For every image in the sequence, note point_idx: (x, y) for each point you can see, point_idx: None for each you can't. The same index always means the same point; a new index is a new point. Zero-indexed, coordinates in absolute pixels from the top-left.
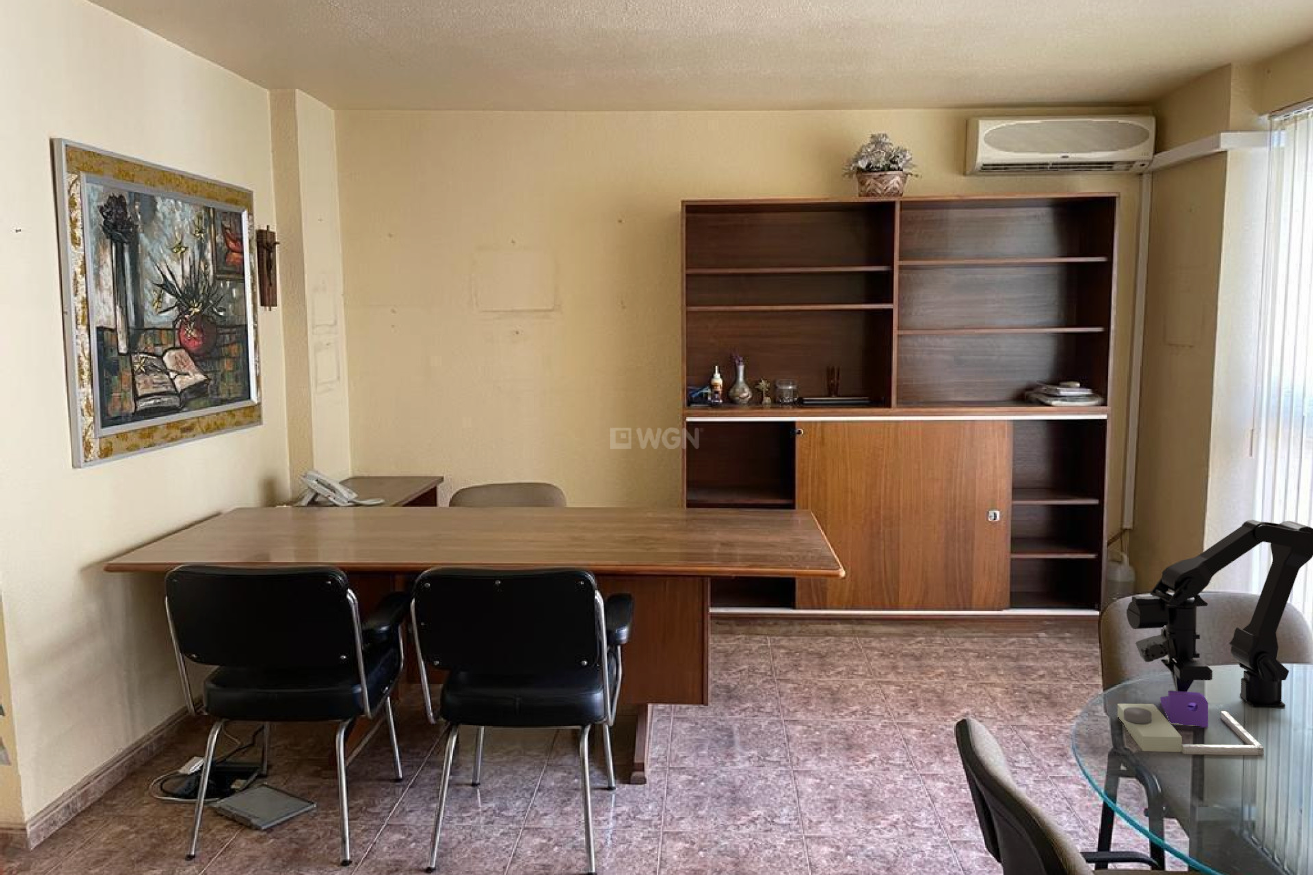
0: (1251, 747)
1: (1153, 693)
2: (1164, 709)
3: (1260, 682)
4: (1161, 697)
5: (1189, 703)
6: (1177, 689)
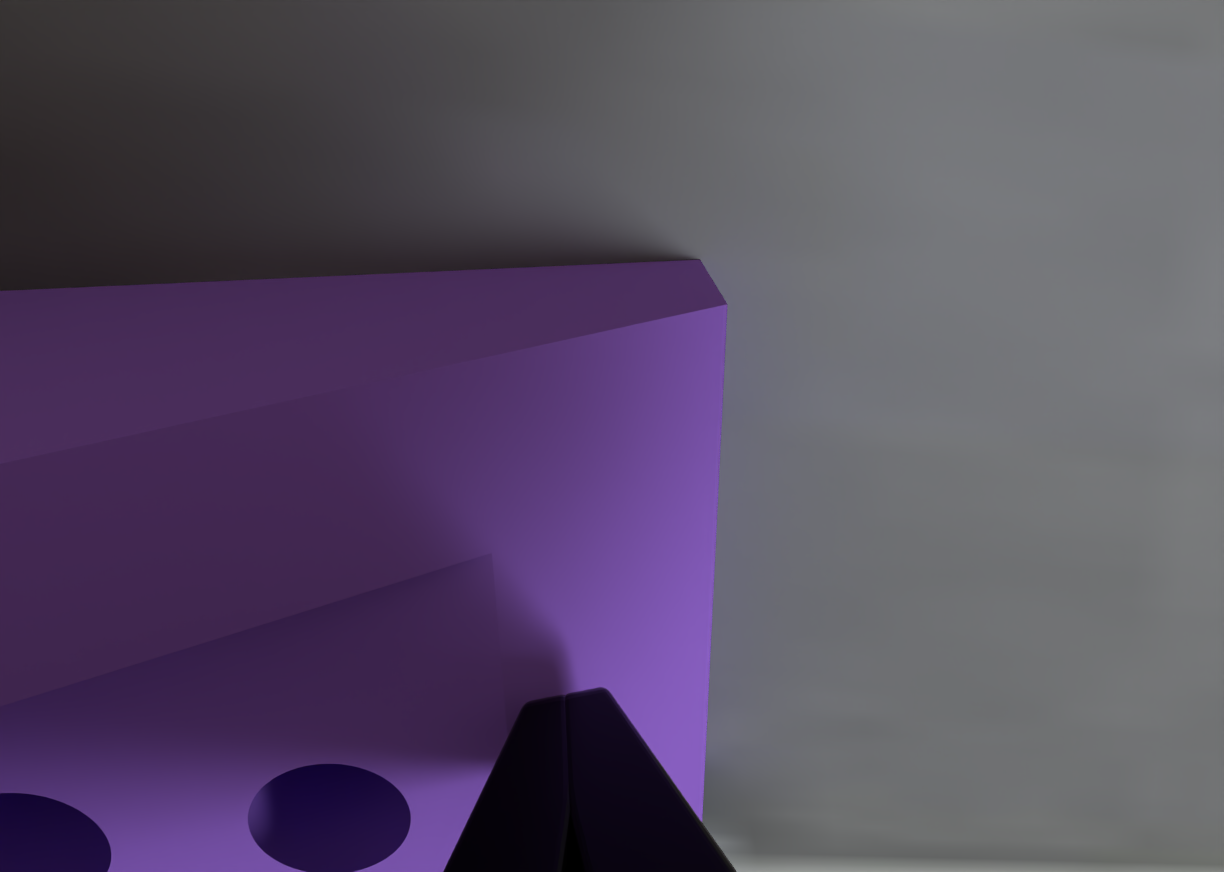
0: None
1: (1210, 173)
2: (90, 308)
3: None
4: (547, 336)
5: (221, 839)
6: (447, 865)
